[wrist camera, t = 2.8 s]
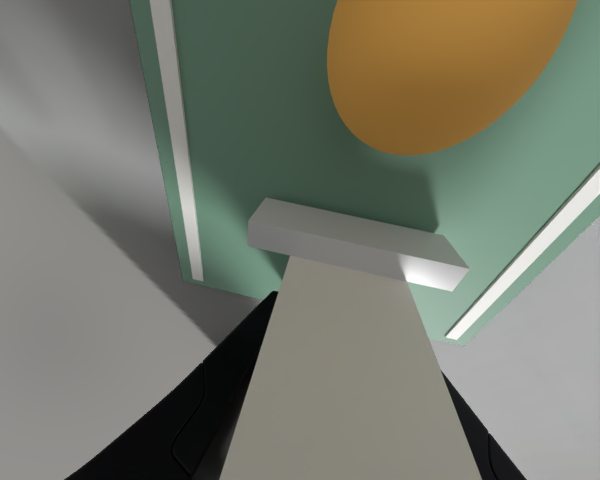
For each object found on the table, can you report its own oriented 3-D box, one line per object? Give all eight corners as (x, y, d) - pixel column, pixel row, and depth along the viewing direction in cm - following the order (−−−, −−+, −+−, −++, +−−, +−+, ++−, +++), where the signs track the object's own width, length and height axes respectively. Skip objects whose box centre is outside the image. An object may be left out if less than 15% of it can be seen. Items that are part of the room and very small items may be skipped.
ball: (436, 152, 7) (523, 197, 4) (317, 128, 7) (300, 152, 4) (526, -31, 5) (914, -305, 2) (352, -60, 5) (378, -364, 2)
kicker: (392, 317, 11) (473, 644, 4) (259, 286, 11) (144, 551, 5) (443, 235, 8) (868, 777, 2) (265, 197, 9) (9, 533, 2)
